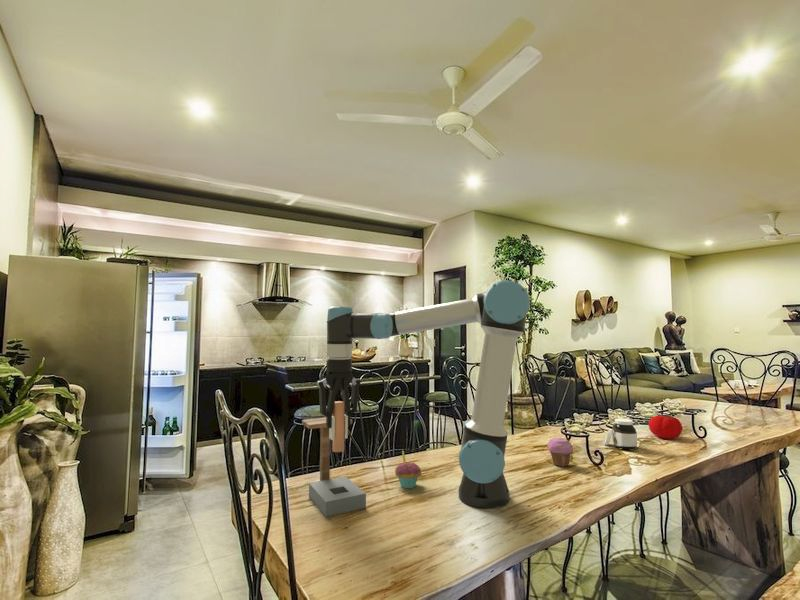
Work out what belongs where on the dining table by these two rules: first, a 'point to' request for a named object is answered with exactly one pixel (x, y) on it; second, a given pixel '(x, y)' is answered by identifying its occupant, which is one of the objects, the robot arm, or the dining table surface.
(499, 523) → the dining table surface
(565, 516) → the dining table surface
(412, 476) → the cupcake
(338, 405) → the peg
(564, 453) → the cupcake
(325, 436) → the wooden t-shaped stand
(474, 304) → the robot arm
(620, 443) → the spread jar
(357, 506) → the socket block
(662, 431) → the tomato
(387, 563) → the dining table surface
